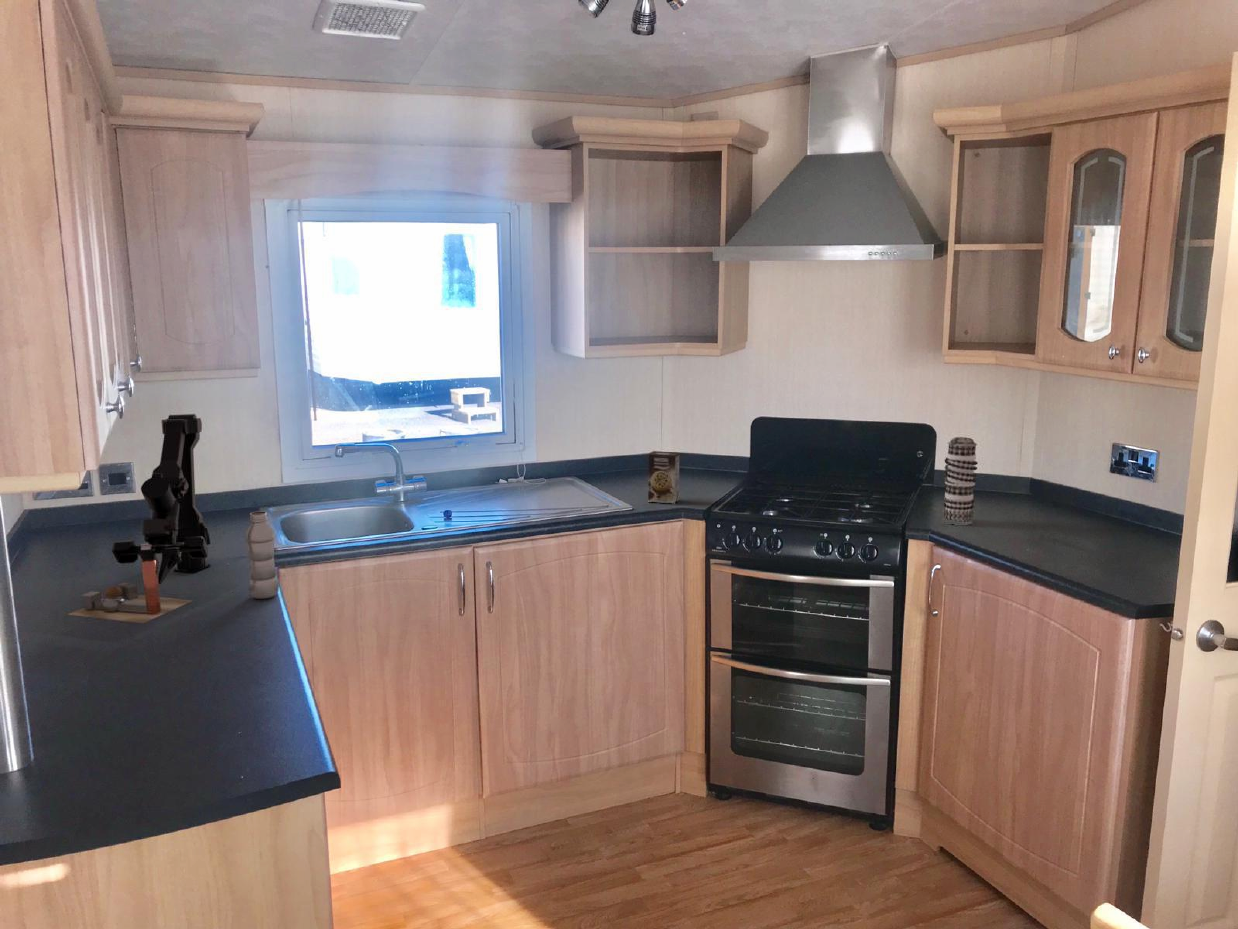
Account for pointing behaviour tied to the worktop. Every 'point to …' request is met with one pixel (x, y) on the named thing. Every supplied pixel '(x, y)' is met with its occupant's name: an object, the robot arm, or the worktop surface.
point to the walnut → (113, 592)
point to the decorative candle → (960, 479)
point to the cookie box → (663, 477)
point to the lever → (119, 604)
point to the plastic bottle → (261, 557)
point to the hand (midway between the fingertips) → (157, 583)
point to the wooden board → (137, 617)
